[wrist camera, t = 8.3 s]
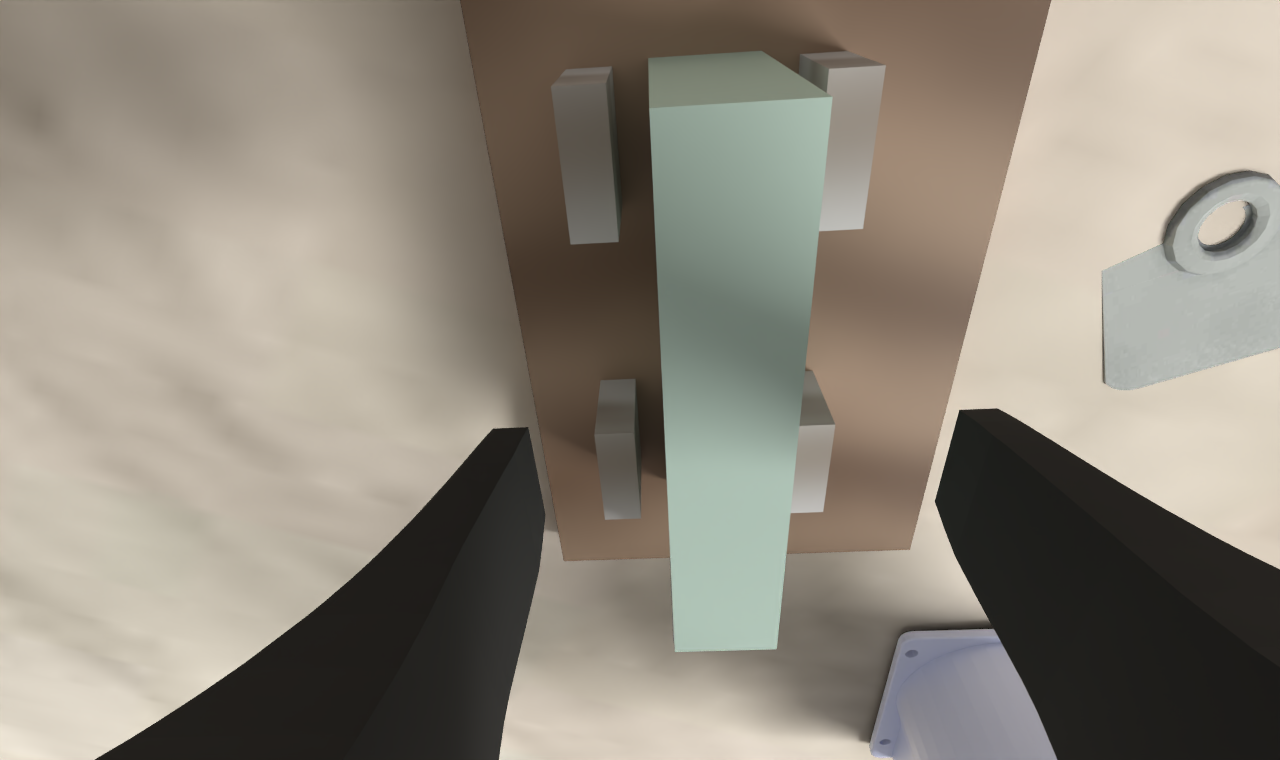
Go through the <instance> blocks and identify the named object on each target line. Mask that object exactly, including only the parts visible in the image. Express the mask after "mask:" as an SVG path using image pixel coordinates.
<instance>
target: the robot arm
mask: <svg viewBox="0 0 1280 760" xmlns="http://www.w3.org/2000/svg"><path fill="white" fill-rule="evenodd" d="M935 503H936V506H937V509H938V512H939V514H940V517H941V520H942V523H943V526H944V529H945V531H946V534H947V537H948V539H949V542H950V544H951V547H952V549H953V552H954V554H955V557H956V559H957V561H958V563H959V565H960V566H961V568H962V570H963V572H964V574H965V576H966V578H967V580H968V582H969V584H970V585H971V587H972V589H973V591H974V593H975V595H976V597H977V599H978V601H979V602H980V604H981V606H982V608H983V610H984V612H985V613H986V615H987V617H988V619H989V621H990V623H991V625H992V626H993V628H994V629H970V630H935V631H910V632H906V633H903V634H902V635H901V636H900V637H899V639H898V642H897V646H896V650H895V653H894V657H893V661H892V664H891V668H890V672H889V675H888V679H887V683H886V686H885V690H884V693H883V697H882V701H881V704H880V708H879V712H878V715H877V719H876V723H875V726H874V730H873V734H872V737H871V741H870V745H869V748H870V751H871V754H872V755H873V756H875V757H879V758H886V757H893V760H1280V569H1278V568H1276V567H1274V566H1272V565H1269V564H1267V563H1265V562H1263V561H1261V560H1259V559H1257V558H1255V557H1253V556H1251V555H1249V554H1247V553H1245V552H1243V551H1241V550H1239V549H1237V548H1235V547H1233V546H1231V545H1230V544H1228V543H1226V542H1224V541H1222V540H1220V539H1218V538H1216V537H1214V536H1212V535H1211V534H1209V533H1207V532H1205V531H1203V530H1202V529H1200V528H1198V527H1196V526H1194V525H1193V524H1191V523H1189V522H1187V521H1185V520H1184V519H1182V518H1180V517H1178V516H1176V515H1175V514H1173V513H1171V512H1169V511H1167V510H1166V509H1164V508H1162V507H1160V506H1159V505H1157V504H1155V503H1153V502H1152V501H1150V500H1148V499H1147V498H1145V497H1143V496H1141V495H1140V494H1138V493H1136V492H1135V491H1133V490H1131V489H1130V488H1128V487H1126V486H1125V485H1123V484H1121V483H1120V482H1118V481H1116V480H1115V479H1113V478H1111V477H1110V476H1108V475H1107V474H1105V473H1103V472H1102V471H1100V470H1098V469H1097V468H1095V467H1093V466H1092V465H1090V464H1089V463H1087V462H1085V461H1084V460H1082V459H1081V458H1079V457H1077V456H1076V455H1074V454H1073V453H1071V452H1069V451H1068V450H1066V449H1065V448H1063V447H1061V446H1060V445H1058V444H1057V443H1055V442H1053V441H1052V440H1050V439H1049V438H1047V437H1045V436H1044V435H1042V434H1040V433H1039V432H1037V431H1036V430H1034V429H1032V428H1031V427H1029V426H1027V425H1026V424H1024V423H1022V422H1021V421H1019V420H1017V419H1016V418H1014V417H1012V416H1010V415H1008V414H1007V413H1005V412H1003V411H1001V410H999V409H973V410H959V414H958V417H957V421H956V425H955V429H954V432H953V436H952V440H951V443H950V447H949V451H948V455H947V458H946V462H945V466H944V470H943V473H942V477H941V481H940V484H939V488H938V492H937V496H936V499H935ZM544 522H545V511H544V506H543V500H542V495H541V490H540V485H539V480H538V475H537V470H536V464H535V459H534V454H533V449H532V444H531V439H530V434H529V429H528V427H525V428H500V429H492V430H491V432H490V433H489V434H488V435H487V436H486V437H485V438H484V439H483V440H482V441H481V443H480V444H479V445H478V446H477V447H476V448H475V450H474V451H473V452H472V453H471V454H470V455H469V457H468V458H467V459H466V460H465V461H464V462H463V464H462V465H461V466H460V467H459V468H458V469H457V471H456V472H455V473H454V474H453V475H452V476H451V477H450V479H449V480H448V481H447V482H446V483H445V484H444V485H443V487H442V488H441V489H440V490H439V491H438V492H437V493H436V494H435V495H434V496H433V498H432V499H431V500H430V501H429V502H428V503H427V504H426V505H425V506H424V508H423V509H422V510H421V511H420V512H419V513H418V514H417V515H416V516H415V517H414V518H413V519H412V520H411V521H410V523H409V524H408V525H407V526H406V527H405V528H404V529H403V530H402V531H401V532H400V533H399V534H398V535H397V536H396V537H395V538H394V539H393V540H392V541H391V542H390V543H389V544H388V545H387V546H386V547H385V548H384V549H383V550H382V551H381V552H380V553H379V554H378V555H377V556H376V557H375V558H373V559H372V560H371V561H370V562H369V563H368V564H367V565H366V566H365V567H364V568H363V569H362V570H361V571H359V572H358V573H357V574H356V575H355V576H354V577H353V578H352V579H351V580H349V581H348V582H347V583H346V584H345V585H344V586H342V587H341V588H340V589H339V590H338V591H337V592H335V593H334V594H333V595H332V596H331V597H329V598H328V599H327V600H326V601H325V602H324V603H322V604H321V605H320V606H319V607H318V608H316V609H315V610H314V611H313V612H311V613H310V614H309V615H308V616H306V617H305V618H304V619H302V620H301V621H300V622H298V623H297V624H296V625H295V626H293V627H292V628H291V629H289V630H288V631H287V632H285V633H284V634H283V635H281V636H280V637H279V638H277V639H276V640H275V641H273V642H272V643H271V644H269V645H268V646H267V647H265V648H264V649H263V650H261V651H260V652H259V653H257V654H256V655H255V656H253V657H252V658H251V659H250V660H248V661H247V662H245V663H244V664H243V665H241V666H240V667H238V668H237V669H236V670H234V671H233V672H231V673H230V674H228V675H227V676H225V677H224V678H223V679H221V680H220V681H218V682H217V683H215V684H214V685H212V686H211V687H209V688H208V689H207V690H205V691H204V692H202V693H201V694H199V695H198V696H196V697H195V698H193V699H192V700H190V701H188V702H187V703H185V704H184V705H182V706H181V707H179V708H178V709H176V710H175V711H173V712H172V713H170V714H169V715H167V716H165V717H164V718H162V719H161V720H159V721H158V722H156V723H155V724H153V725H151V726H150V727H148V728H147V729H145V730H143V731H142V732H140V733H139V734H137V735H135V736H134V737H132V738H131V739H129V740H127V741H126V742H124V743H122V744H120V745H119V746H117V747H115V748H114V749H112V750H110V751H109V752H107V753H105V754H104V755H102V756H100V757H98V758H97V759H95V760H499V754H500V747H501V740H502V733H503V726H504V720H505V715H506V710H507V705H508V700H509V695H510V690H511V686H512V682H513V678H514V673H515V669H516V665H517V661H518V657H519V653H520V648H521V644H522V640H523V636H524V632H525V628H526V623H527V619H528V615H529V611H530V607H531V602H532V598H533V594H534V590H535V585H536V581H537V577H538V572H539V567H540V559H541V551H542V542H543V532H544Z"/></svg>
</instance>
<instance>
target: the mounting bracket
mask: <svg viewBox="0 0 1280 760" xmlns="http://www.w3.org/2000/svg"><path fill="white" fill-rule="evenodd" d="M1239 200H1242V201H1247V202H1248V203H1249V205H1247V206H1245V207H1243V208H1244V210H1245V213H1246V218H1245V221H1244V224H1243V226H1242V227H1241V229H1240V230H1239V231H1238V232H1237V233H1236V234H1235V235H1234V236H1233V237H1232V238H1230V239H1229V240H1227V241H1225V242H1224V243H1221V244H1217V245H1205V244H1202V243H1201V242H1200V240H1199V239H1198V233H1199V229H1200V227H1201V225H1202V224H1203V222H1204V221H1205V219H1206V218H1207V217H1208V216H1209V215H1210V214H1211V213H1212V212H1213V211H1215V210H1216V209H1217V208H1219V207H1221V206H1223V205H1225V204H1227V203H1229V202H1234V201H1239ZM1102 304H1103V351H1104V383H1105V384H1107V385H1108V386H1110V387H1111V388H1114V389H1117V390H1133V389H1138V388H1142V387H1146V386H1149V385H1153V384H1156V383H1159V382H1163V381H1166V380H1170V379H1173V378H1177V377H1180V376H1184V375H1187V374H1191V373H1194V372H1198V371H1201V370H1205V369H1208V368H1211V367H1215V366H1218V365H1222V364H1225V363H1229V362H1232V361H1236V360H1239V359H1243V358H1246V357H1250V356H1253V355H1256V354H1260V353H1263V352H1267V351H1270V350H1274V349H1277V348H1280V186H1279V185H1278V184H1277V183H1276V182H1275V180H1274V179H1273V178H1272V177H1271V176H1270V175H1268V174H1263V173H1258V172H1254V171H1245V172H1240V173H1234V174H1229V175H1225V176H1223V177H1221V178H1219V179H1217V180H1215V181H1213V182H1211V183H1209V184H1207V185H1205V186H1203V187H1202V188H1201V189H1199V190H1198V191H1197V192H1196V193H1195V194H1194V195H1193V196H1191V197H1190V198H1189V199H1188V200H1187V201H1186V202H1184V203H1183V204H1182V205H1181V207H1180V208H1179V210H1178V211H1177V213H1176V214H1175V216H1174V217H1173V219H1172V220H1171V221H1170V223H1169V224H1168V227H1167V231H1166V235H1165V239H1164V242H1163V244H1161V245H1158V246H1156V247H1154V248H1152V249H1149V250H1147V251H1145V252H1143V253H1141V254H1138V255H1136V256H1134V257H1132V258H1130V259H1127V260H1125V261H1123V262H1121V263H1118V264H1116V265H1114V266H1112V267H1110V268H1107V269H1105V270H1103V271H1102Z"/></svg>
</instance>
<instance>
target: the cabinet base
mask: <svg viewBox="0 0 1280 760" xmlns="http://www.w3.org/2000/svg"><path fill="white" fill-rule="evenodd" d="M460 1H461V7H462V12H463V18H464V23H465V29H466V34H467V39H468V45H469V50H470V56H471V61H472V66H473V72H474V77H475V83H476V88H477V93H478V99H479V104H480V110H481V115H482V121H483V126H484V131H485V137H486V142H487V148H488V153H489V158H490V164H491V169H492V175H493V180H494V186H495V191H496V196H497V202H498V207H499V213H500V218H501V223H502V229H503V234H504V240H505V245H506V250H507V256H508V261H509V267H510V272H511V278H512V283H513V288H514V294H515V299H516V305H517V310H518V315H519V321H520V326H521V332H522V337H523V343H524V348H525V353H526V359H527V364H528V370H529V375H530V380H531V386H532V391H533V397H534V402H535V408H536V413H537V418H538V424H539V429H540V435H541V440H542V445H543V451H544V456H545V462H546V467H547V472H548V478H549V483H550V489H551V494H552V500H553V505H554V510H555V516H556V521H557V527H558V532H559V537H560V543H561V548H562V554H563V559H564V561H581V560H611V559H641V558H670V545H669V520H668V495H667V474H666V453H665V432H664V410H663V389H662V368H661V347H660V326H659V304H658V283H657V262H656V241H655V220H654V198H653V177H652V156H651V135H650V113H649V71H648V58H656V57H672V56H687V55H703V54H718V53H733V52H749V51H763V52H764V53H766V54H767V55H769V56H770V57H772V58H774V59H775V60H777V61H778V62H780V63H781V64H783V65H784V66H786V67H787V68H789V69H791V70H792V71H794V72H795V73H797V74H798V75H800V76H801V77H803V78H804V79H806V80H807V81H809V82H811V83H812V84H814V85H815V86H817V87H818V88H820V89H821V90H823V91H824V92H826V93H828V94H829V95H831V96H832V97H833V99H832V108H831V118H830V128H829V138H828V148H827V158H826V168H825V178H824V188H823V197H822V207H821V217H820V227H819V237H818V247H817V257H816V267H815V276H814V286H813V296H812V306H811V316H810V326H809V336H808V346H807V355H806V365H805V375H804V385H803V395H802V405H801V415H800V425H799V435H798V444H797V454H796V464H795V474H794V484H793V494H792V504H791V514H790V523H789V533H788V543H787V553H786V554H792V553H822V552H852V551H882V550H910V547H911V543H912V539H913V535H914V531H915V528H916V524H917V520H918V516H919V512H920V508H921V504H922V500H923V496H924V493H925V489H926V485H927V481H928V477H929V473H930V469H931V465H932V462H933V458H934V454H935V450H936V446H937V442H938V438H939V434H940V430H941V427H942V423H943V419H944V415H945V411H946V407H947V403H948V399H949V395H950V392H951V388H952V384H953V380H954V376H955V372H956V368H957V364H958V361H959V357H960V353H961V349H962V345H963V341H964V337H965V333H966V329H967V326H968V322H969V318H970V314H971V310H972V306H973V302H974V298H975V294H976V291H977V287H978V283H979V279H980V275H981V271H982V267H983V263H984V259H985V256H986V252H987V248H988V244H989V240H990V236H991V232H992V228H993V225H994V221H995V217H996V213H997V209H998V205H999V201H1000V197H1001V193H1002V190H1003V186H1004V182H1005V178H1006V174H1007V170H1008V166H1009V162H1010V158H1011V155H1012V151H1013V147H1014V143H1015V139H1016V135H1017V131H1018V127H1019V124H1020V120H1021V116H1022V112H1023V108H1024V104H1025V100H1026V96H1027V92H1028V89H1029V85H1030V81H1031V77H1032V73H1033V69H1034V65H1035V61H1036V57H1037V54H1038V50H1039V46H1040V42H1041V38H1042V34H1043V30H1044V26H1045V23H1046V19H1047V15H1048V11H1049V7H1050V3H1051V0H460Z"/></svg>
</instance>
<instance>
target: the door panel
mask: <svg viewBox="0 0 1280 760" xmlns="http://www.w3.org/2000/svg"><path fill="white" fill-rule="evenodd" d="M648 71H649V113H650V135H651V156H652V177H653V198H654V220H655V241H656V262H657V283H658V304H659V326H660V347H661V368H662V389H663V410H664V432H665V453H666V474H667V495H668V520H669V545H670V570H671V595H672V619H673V640H674V644H675V652H695V651H732V650H769V649H777V642H778V632H779V622H780V612H781V602H782V593H783V583H784V573H785V563H786V553H787V543H788V533H789V523H790V514H791V504H792V494H793V484H794V474H795V464H796V454H797V444H798V435H799V425H800V415H801V405H802V395H803V385H804V375H805V365H806V355H807V346H808V336H809V326H810V316H811V306H812V296H813V286H814V276H815V267H816V257H817V247H818V237H819V227H820V217H821V207H822V197H823V188H824V178H825V168H826V158H827V148H828V138H829V128H830V118H831V108H832V99H833V97H832V96H831V95H829V94H828V93H826V92H824V91H823V90H821V89H820V88H818V87H817V86H815V85H814V84H812V83H811V82H809V81H807V80H806V79H804V78H803V77H801V76H800V75H798V74H797V73H795V72H794V71H792V70H791V69H789V68H787V67H786V66H784V65H783V64H781V63H780V62H778V61H777V60H775V59H774V58H772V57H770V56H769V55H767V54H766V53H764V52H763V51H749V52H733V53H718V54H703V55H687V56H672V57H656V58H648Z"/></svg>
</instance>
